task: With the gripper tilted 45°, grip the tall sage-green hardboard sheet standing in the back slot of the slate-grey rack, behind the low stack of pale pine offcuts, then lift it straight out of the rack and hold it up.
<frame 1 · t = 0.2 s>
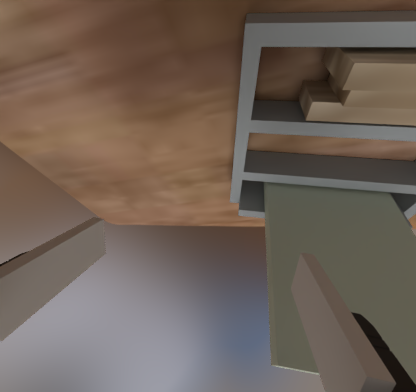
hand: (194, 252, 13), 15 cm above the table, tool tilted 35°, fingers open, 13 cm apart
sage hardboard sheet: (316, 172, 25), resting in offcut rack
offcut rack: (316, 172, 25), on the table
pine offcut stack: (368, 71, 17), resting in offcut rack
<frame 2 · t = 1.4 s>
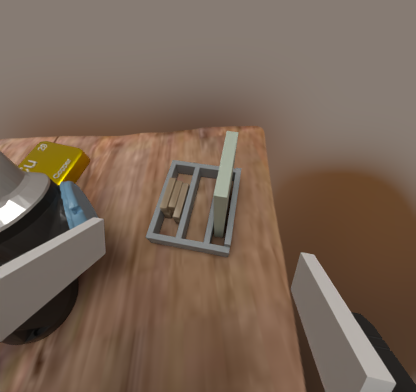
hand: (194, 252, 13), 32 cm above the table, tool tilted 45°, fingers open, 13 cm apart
element tile: (57, 174, 57), on the table
sage hardboard sheet: (222, 211, 49), resting in offcut rack
offcut rack: (222, 211, 49), on the table
pine offcut stack: (178, 204, 50), resting in offcut rack
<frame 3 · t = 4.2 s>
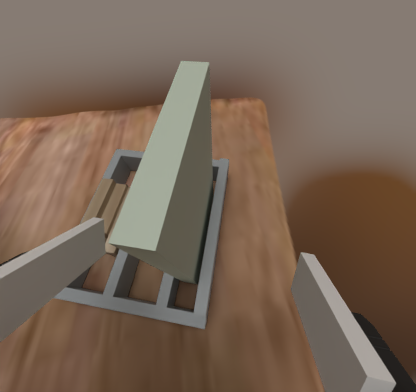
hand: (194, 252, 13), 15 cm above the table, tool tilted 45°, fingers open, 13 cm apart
sage hardboard sheet: (199, 234, 28), resting in offcut rack
offcut rack: (199, 234, 28), on the table
pine offcut stack: (125, 223, 30), resting in offcut rack
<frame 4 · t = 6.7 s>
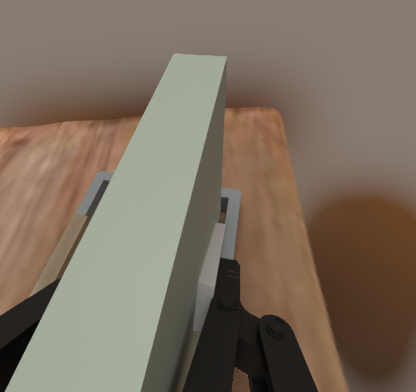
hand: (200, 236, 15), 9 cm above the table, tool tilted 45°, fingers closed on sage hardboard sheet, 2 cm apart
sage hardboard sheet: (201, 286, 22), resting in offcut rack, touching gripper
offcut rack: (201, 286, 22), on the table
pine offcut stack: (106, 267, 23), resting in offcut rack
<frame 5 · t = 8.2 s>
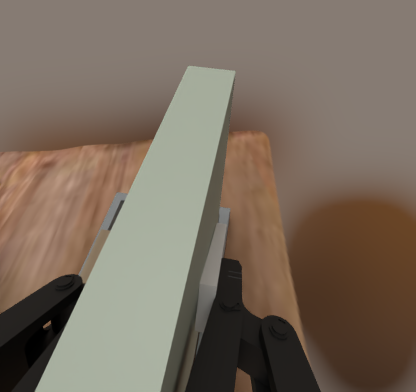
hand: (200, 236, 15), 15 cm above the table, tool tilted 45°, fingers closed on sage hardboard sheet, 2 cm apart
sage hardboard sheet: (197, 287, 22), point 6 cm above the table, touching gripper
offcut rack: (199, 285, 28), on the table
pine offcut stack: (124, 270, 29), resting in offcut rack
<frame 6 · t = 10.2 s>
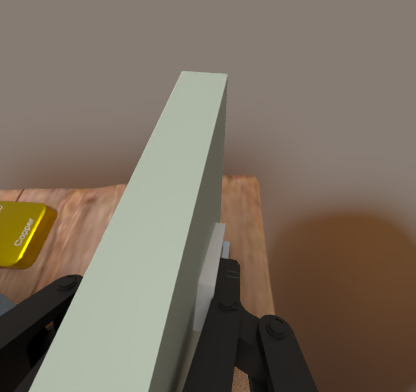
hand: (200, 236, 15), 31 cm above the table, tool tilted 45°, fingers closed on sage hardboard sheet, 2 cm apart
element tile: (20, 236, 49), on the table
sage hardboard sheet: (201, 289, 22), point 21 cm above the table, touching gripper
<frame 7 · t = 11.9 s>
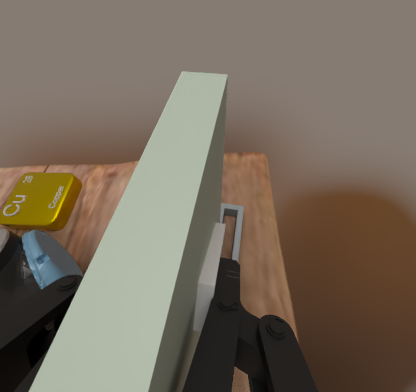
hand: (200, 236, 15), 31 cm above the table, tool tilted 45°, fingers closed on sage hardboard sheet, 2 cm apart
element tile: (49, 204, 54), on the table
sage hardboard sheet: (201, 289, 22), point 21 cm above the table, touching gripper
offcut rack: (224, 253, 45), on the table
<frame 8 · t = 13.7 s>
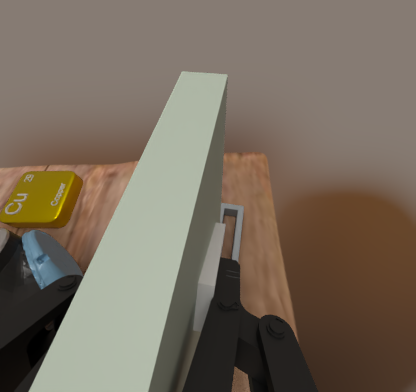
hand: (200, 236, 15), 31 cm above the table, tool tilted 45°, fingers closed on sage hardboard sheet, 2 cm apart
element tile: (51, 202, 54), on the table
sage hardboard sheet: (201, 289, 22), point 21 cm above the table, touching gripper
offcut rack: (224, 253, 45), on the table
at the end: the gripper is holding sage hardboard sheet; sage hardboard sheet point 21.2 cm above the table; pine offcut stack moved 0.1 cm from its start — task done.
